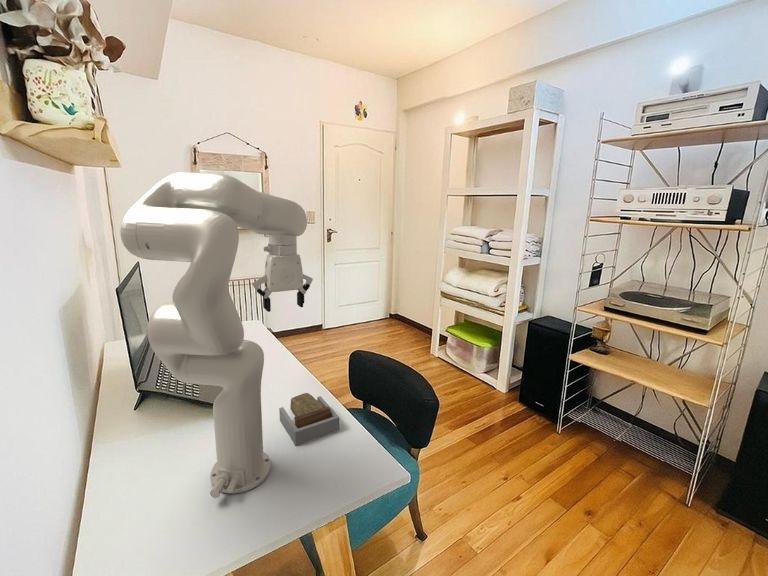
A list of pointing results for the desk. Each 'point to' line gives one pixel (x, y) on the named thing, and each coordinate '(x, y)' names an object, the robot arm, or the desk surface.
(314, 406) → the stone block
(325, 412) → the wooden board
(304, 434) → the grey open square tray
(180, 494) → the desk surface
